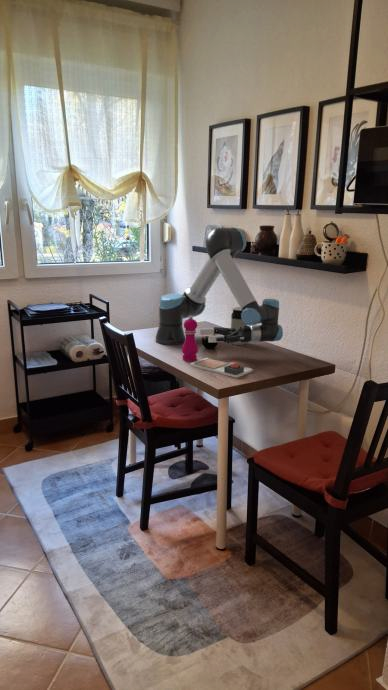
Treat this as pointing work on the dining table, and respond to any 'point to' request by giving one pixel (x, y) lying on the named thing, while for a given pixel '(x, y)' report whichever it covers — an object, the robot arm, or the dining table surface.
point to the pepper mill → (190, 340)
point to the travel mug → (237, 322)
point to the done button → (234, 365)
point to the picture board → (221, 367)
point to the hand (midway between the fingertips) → (204, 335)
